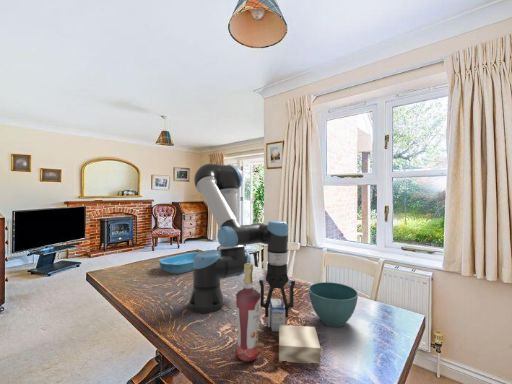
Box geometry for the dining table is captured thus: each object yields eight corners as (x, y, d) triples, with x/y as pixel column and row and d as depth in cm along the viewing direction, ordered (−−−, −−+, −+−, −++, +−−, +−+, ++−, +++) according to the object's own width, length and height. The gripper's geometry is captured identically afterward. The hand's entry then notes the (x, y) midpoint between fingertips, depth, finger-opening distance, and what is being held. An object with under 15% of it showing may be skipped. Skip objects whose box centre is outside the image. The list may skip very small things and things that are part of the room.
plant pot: (351, 340, 87) (352, 303, 87) (301, 325, 97) (301, 292, 97) (361, 318, 102) (361, 287, 103) (317, 307, 112) (317, 279, 112)
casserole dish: (195, 259, 192) (195, 250, 192) (217, 264, 180) (217, 254, 180) (151, 271, 161) (151, 260, 161) (174, 278, 149) (174, 266, 149)
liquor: (254, 368, 72) (255, 268, 73) (231, 361, 75) (232, 266, 75) (263, 353, 79) (263, 262, 79) (241, 347, 82) (242, 260, 82)
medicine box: (269, 321, 99) (269, 298, 99) (280, 320, 99) (280, 298, 99) (271, 332, 91) (272, 307, 91) (284, 331, 92) (284, 307, 92)
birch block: (279, 362, 75) (279, 345, 76) (279, 339, 87) (279, 324, 87) (320, 365, 74) (320, 348, 74) (314, 341, 86) (314, 326, 86)
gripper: (253, 265, 92) (252, 330, 92) (302, 266, 91) (301, 331, 91) (253, 259, 99) (252, 319, 99) (299, 260, 99) (298, 321, 99)
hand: (276, 325), depth 95 cm, fingers closed on medicine box, 5 cm apart
